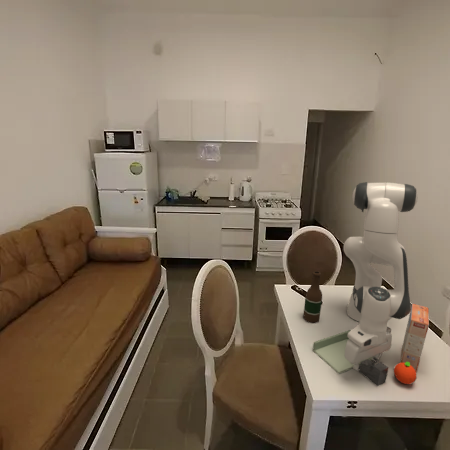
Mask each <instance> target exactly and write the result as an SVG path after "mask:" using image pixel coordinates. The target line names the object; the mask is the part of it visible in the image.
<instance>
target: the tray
mask: <svg viewBox="0 0 450 450" xmlns="http://www.w3.org/2000/svg"><path fill="white" fill-rule="evenodd" d="M351 330H352V329H348V330H345V331H342V332H340V333H337V334H333V335H331V336H327V337H325V338H322V339H319V340H315V341H313V344H312V345H313V347H312V352H314V353H315V354H316V355H317V356H318V357H320V359H321V360H323V362H325V363H326V364H327V365H328V366H329V367H331V369H333V370H334V371H335V372H336V373H337V374H338V375H340V374H342V373H344V372H347V371H349V370H352V369H354V368H353V366H354V364H352V363H350V362H349V361H348V360H347V359H346V358H345V348H346V343H347V341H348V340H349V338H348V337H347V335H348V333H349V332H350V331H351ZM367 359H369V360H370V361H372V357H370V358H367ZM367 359H365V360H367ZM362 361H364V360H362ZM362 361H360V362H362ZM358 364H359V365H360V363H358Z"/></svg>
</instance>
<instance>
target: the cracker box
mask: <svg viewBox="0 0 450 450" xmlns="http://www.w3.org/2000/svg"><path fill="white" fill-rule="evenodd" d="M408 315H409V316H408V320H407V324H406V329H405V334H404V337H403V341H402V345H401V351H400V352H401V353H400V362H399V363H406V362H410V365H411V366H412V367H413V368H414V369H415V371H416V374H417V372H418V368H419V366H420V361H421V357H422V354H423V349H424V345H425V342H426V338H427V334H428V330H429V326H430V323H429V321H430V316H429V315H430V313H429V307H427V306H423V305H419V304H415V303H412V304H411V309H410V313H409V314H408Z"/></svg>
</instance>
